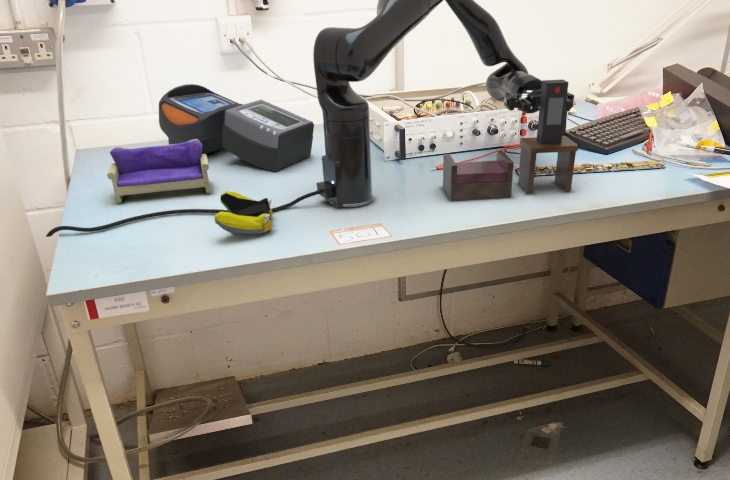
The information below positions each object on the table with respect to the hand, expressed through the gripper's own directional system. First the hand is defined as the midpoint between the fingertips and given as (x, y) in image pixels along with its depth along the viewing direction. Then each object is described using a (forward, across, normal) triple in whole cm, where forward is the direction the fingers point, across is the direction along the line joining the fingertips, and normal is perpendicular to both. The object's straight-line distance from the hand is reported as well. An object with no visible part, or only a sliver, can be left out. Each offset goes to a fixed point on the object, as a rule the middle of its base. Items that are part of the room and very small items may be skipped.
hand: (549, 107), depth 135 cm
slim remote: (+2, 0, +7) cm, 7 cm away
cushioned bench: (+2, -15, +17) cm, 23 cm away
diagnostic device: (-37, -69, +17) cm, 80 cm away
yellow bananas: (+15, -63, +17) cm, 67 cm away
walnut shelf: (+2, 0, +17) cm, 17 cm away
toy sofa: (-9, -83, +17) cm, 85 cm away
